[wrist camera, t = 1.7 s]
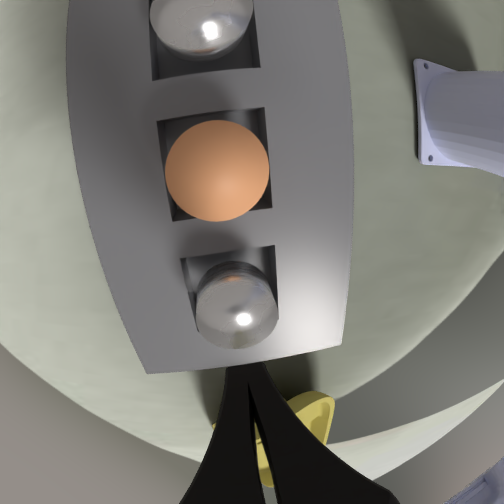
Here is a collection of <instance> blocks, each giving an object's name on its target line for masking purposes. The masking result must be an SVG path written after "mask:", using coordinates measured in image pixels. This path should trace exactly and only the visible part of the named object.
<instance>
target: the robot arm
mask: <svg viewBox="0 0 504 504" xmlns="http://www.w3.org/2000/svg"><path fill="white" fill-rule="evenodd" d="M413 64H414V73H415V82H416V93H417V108H418V159H419V162H420V163H421V164H424V165H444V166H462V167H476V168H479V169H482V170H485V171H488V172H491V173H494V174H497V175H500V176H502V177H504V71H459V72H458V71H455V70H453V69H450V68H447V67H444V66H442V65H439V64H436V63H433V62H430V61H426V60H423V59H415V60H414V62H413ZM424 65H425V68H424ZM429 156H430V159H429V160H428V157H429ZM254 419H255V421H254ZM255 422H256V426H257V429H258V432H259V436H260V439H261V442H262V445H263V448H264V452H265V455H266V458H267V461H268V464H269V468H270V471H271V476H272V480H273V485H274V489H275V493H276V498H277V503H278V504H400V503H399V501H398V500H397V498H396V497H395V496H394V495H393V494H392V493H391V492H390V491H389V490H388V489H386V488H384V487H382V486H380V485H378V484H377V483H375V482H373V481H372V480H370V479H368V478H367V477H365V476H363V475H362V474H360V473H359V472H357V471H356V470H354V469H353V468H352V467H350V466H349V465H348V464H346V463H345V462H344V461H343V460H341V459H340V458H339V457H337V456H336V455H335V454H334V453H332V452H331V451H330V450H329V449H328V448H327V447H326V446H325V445H324V444H322V443H321V442H320V441H319V440H318V439H317V438H316V437H315V436H314V435H313V434H312V433H311V432H310V431H309V429H308V428H307V427H306V426H305V425H304V424H303V423H302V421H301V420H300V419H299V418H298V417H297V416H296V414H295V413H294V412H293V410H292V409H291V408H290V406H289V405H288V404H287V402H286V401H285V400H284V398H283V397H282V395H281V394H280V392H279V391H278V389H277V387H276V386H275V384H274V382H273V381H272V379H271V377H270V375H269V373H268V371H267V369H266V366H265V364H264V363H263V362H256V363H250V364H244V365H237V366H230V367H228V368H226V377H225V386H224V392H223V398H222V402H221V407H220V411H219V415H218V419H217V422H216V425H215V428H214V432H213V435H212V438H211V441H210V443H209V446H208V449H207V451H206V454H205V456H204V458H203V461H202V463H201V465H200V467H199V469H198V471H197V473H196V475H195V477H194V479H193V481H192V483H191V485H190V487H189V488H188V490H187V492H186V493H185V495H184V497H183V498H182V500H181V501H180V503H179V504H266V503H265V498H264V493H263V488H262V484H261V479H260V473H259V466H258V455H257V444H256V433H255ZM442 504H504V457H503V458H501V460H499V461H498V462H497V463H496V464H495V465H493V466H492V467H491V468H489V469H488V470H486V471H485V472H484V473H482V474H481V475H480V476H479V477H477V478H476V479H475V480H473V481H472V482H471V483H469V484H468V485H467V486H466V488H464V489H463V490H462V491H460V492H459V493H457V494H456V495H455V496H453V497H452V498H450V499H449V500H447V501H446V502H444V503H442Z"/></svg>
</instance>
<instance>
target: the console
mask: <svg viewBox="0 0 504 504" xmlns="http://www.w3.org/2000/svg"><path fill="white" fill-rule="evenodd" d="M252 1H253V13H252V16H251V19H250V21H249V24H248V26H247V29H246V31H245V34H244V36H243V38H242V40H241V42H240V43H239V45H238V46H237V47H236V48H235V49H234V50H233V51H232V52H230V53H229V54H227V55H225V56H224V57H222V58H219V59H217V60H213V61H208V62H188V61H184V60H181V59H179V58H177V57H175V56H173V55H172V54H170V53H169V52H168V51H167V50H166V49H165V47H164V46H163V44H162V43H161V41H160V39H159V37H158V36H157V34H156V32H155V30H154V29H153V27H152V24H151V21H150V8H151V5H152V2H153V0H69V9H68V21H67V39H66V77H67V96H68V109H69V119H70V128H71V136H72V143H73V150H74V156H75V162H76V167H77V173H78V178H79V183H80V188H81V192H82V197H83V201H84V205H85V209H86V214H87V217H88V221H89V225H90V229H91V232H92V236H93V239H94V243H95V246H96V249H97V253H98V256H99V259H100V262H101V265H102V268H103V271H104V274H105V277H106V280H107V283H108V285H109V288H110V291H111V294H112V296H113V299H114V301H115V304H116V307H117V309H118V312H119V314H120V317H121V319H122V321H123V324H124V326H125V328H126V331H127V333H128V335H129V338H130V340H131V342H132V344H133V346H134V348H135V351H136V353H137V355H138V357H139V359H140V361H141V363H142V365H143V367H144V369H145V371H146V373H147V374H155V373H170V372H182V371H193V370H202V369H211V368H219V367H227V366H234V365H241V364H248V363H254V362H260V361H266V360H272V359H277V358H282V357H287V356H292V355H297V354H302V353H307V352H311V351H316V350H320V349H324V348H329V347H333V346H337V345H341V341H342V335H343V328H344V320H345V312H346V304H347V295H348V286H349V275H350V264H351V250H352V234H353V210H354V144H353V120H352V105H351V92H350V81H349V71H348V63H347V55H346V47H345V40H344V34H343V27H342V21H341V16H340V10H339V5H338V0H252ZM212 120H224V121H230V122H234V123H237V124H239V125H241V126H243V127H245V128H247V129H248V130H250V131H251V132H252V133H253V134H254V135H255V136H256V137H257V138H258V139H259V140H260V142H261V143H262V145H263V147H264V149H265V151H266V153H267V157H268V161H269V179H268V183H267V186H266V189H265V191H264V193H263V195H262V197H261V198H260V199H259V201H258V202H257V203H256V204H255V205H254V206H253V207H252V208H251V209H250V210H249V211H247V212H246V213H244V214H243V215H241V216H239V217H237V218H234V219H231V220H226V221H218V222H215V221H206V220H202V219H198V218H196V217H194V216H191V215H190V214H188V213H187V212H185V211H184V210H183V209H181V208H180V207H179V206H178V204H177V203H176V202H175V201H174V199H173V198H172V196H171V194H170V192H169V190H168V187H167V183H166V178H165V166H166V160H167V157H168V154H169V152H170V149H171V147H172V146H173V144H174V143H175V141H176V140H177V139H178V138H179V137H180V136H181V135H182V134H183V133H184V132H185V131H187V130H188V129H190V128H191V127H193V126H195V125H197V124H200V123H203V122H206V121H212ZM227 261H243V262H247V263H250V264H252V265H254V266H256V267H257V268H258V269H260V270H261V271H262V272H263V274H264V275H265V277H266V279H267V281H268V284H269V286H270V289H271V292H272V294H273V297H274V300H275V302H276V305H277V308H278V321H277V324H276V326H275V328H274V330H273V331H272V333H271V334H270V335H269V336H268V337H267V338H266V339H265V340H263V341H262V342H260V343H258V344H256V345H254V346H251V347H248V348H243V349H226V348H221V347H218V346H216V345H213V344H212V343H210V342H209V341H207V340H206V339H205V338H204V337H203V336H202V335H201V333H200V332H199V330H198V327H197V324H196V305H197V288H198V284H199V281H200V279H201V278H202V276H203V275H204V274H205V273H206V272H207V271H208V270H209V269H210V268H212V267H213V266H215V265H217V264H219V263H222V262H227Z"/></svg>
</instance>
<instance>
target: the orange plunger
mask: <svg viewBox="0 0 504 504" xmlns="http://www.w3.org/2000/svg"><path fill="white" fill-rule="evenodd" d="M165 178H166V183H167V187H168V190H169V192H170V194H171V196H172V198H173V199H174V201H175V202H176V203H177V204H178V206H179V207H180V208H181V209H183V210H184V211H185V212H187V213H188V214H190V215H191V216H194V217H196V218H198V219H202V220H206V221H215V222H218V221H226V220H231V219H234V218H237V217H239V216H241V215H243V214H244V213H246V212H247V211H249V210H250V209H251V208H252V207H253V206H254V205H255V204H256V203H257V202H258V201H259V199H260V198H261V197H262V195H263V193H264V191H265V189H266V186H267V183H268V179H269V161H268V157H267V153H266V151H265V149H264V147H263V145H262V143H261V142H260V140H259V139H258V138H257V137H256V136H255V135H254V134H253V133H252V132H251V131H250V130H248V129H247V128H245V127H243V126H241V125H239V124H237V123H234V122H230V121H224V120H212V121H206V122H203V123H200V124H197V125H195V126H193V127H191V128H190V129H188V130H187V131H185V132H184V133H183V134H182V135H181V136H180V137H179V138H178V139H177V140H176V141H175V143H174V144H173V146H172V147H171V149H170V152H169V154H168V157H167V160H166V166H165Z"/></svg>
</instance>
